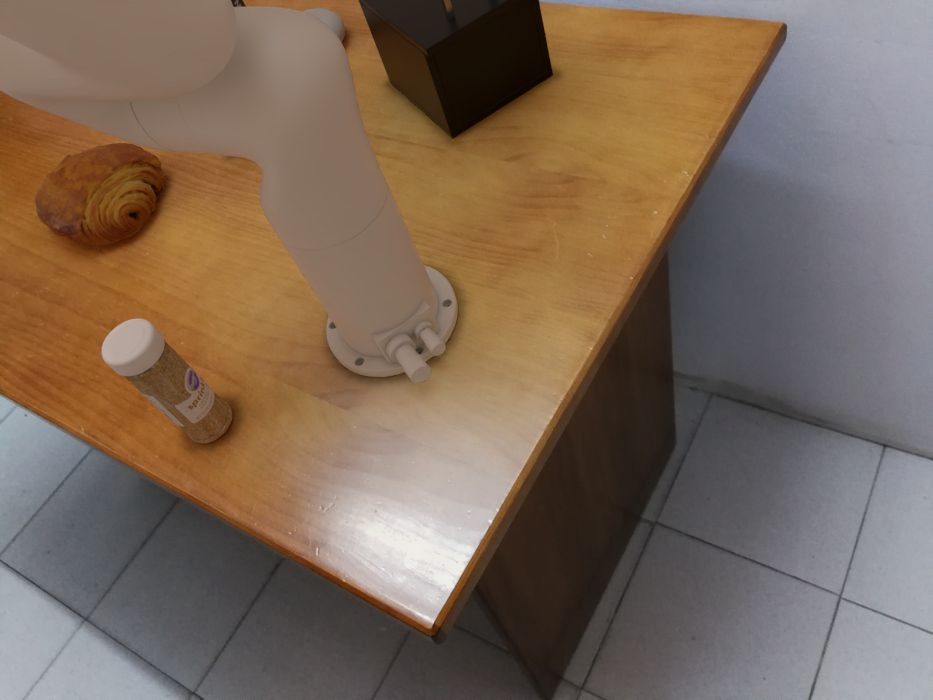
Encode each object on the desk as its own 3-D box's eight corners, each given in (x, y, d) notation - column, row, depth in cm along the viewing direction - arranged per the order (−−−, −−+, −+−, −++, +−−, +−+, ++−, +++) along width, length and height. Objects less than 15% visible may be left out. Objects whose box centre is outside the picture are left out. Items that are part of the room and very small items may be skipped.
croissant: (113, 281, 91) (72, 239, 84) (36, 225, 97) (-8, 182, 90) (201, 195, 95) (169, 149, 88) (122, 147, 102) (86, 100, 95)
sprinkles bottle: (236, 434, 71) (152, 350, 60) (189, 452, 71) (98, 372, 61) (231, 394, 74) (151, 308, 63) (186, 412, 74) (99, 328, 63)
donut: (297, 27, 109) (265, 73, 104) (286, 4, 106) (253, 50, 101) (360, 25, 105) (330, 72, 100) (351, 1, 103) (320, 48, 98)
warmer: (553, 75, 89) (536, -15, 80) (452, 138, 87) (424, 53, 78) (483, 26, 98) (461, -60, 89) (390, 83, 96) (358, 1, 87)
